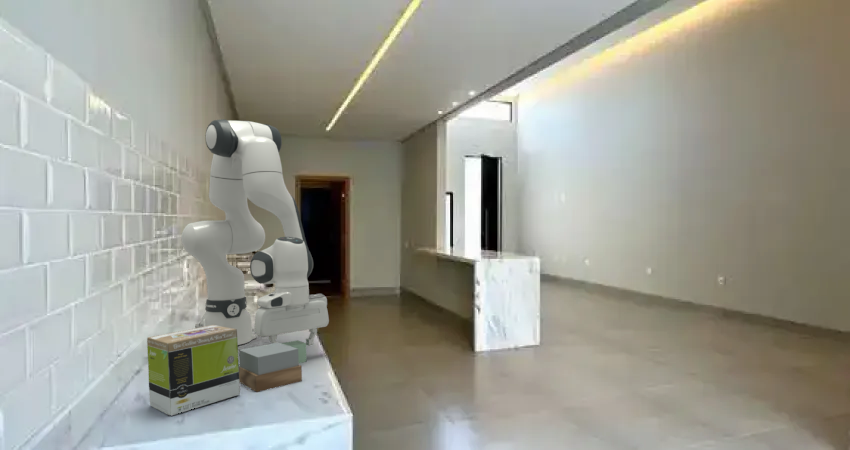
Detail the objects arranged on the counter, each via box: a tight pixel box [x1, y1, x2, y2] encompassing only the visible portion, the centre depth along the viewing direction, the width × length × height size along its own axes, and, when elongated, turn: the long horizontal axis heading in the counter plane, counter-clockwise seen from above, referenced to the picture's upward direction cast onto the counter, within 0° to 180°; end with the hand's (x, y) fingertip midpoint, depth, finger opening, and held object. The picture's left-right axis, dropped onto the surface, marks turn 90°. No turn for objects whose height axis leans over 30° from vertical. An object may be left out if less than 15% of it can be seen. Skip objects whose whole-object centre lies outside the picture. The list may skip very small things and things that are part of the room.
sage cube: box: [282, 340, 307, 364], centre depth 136 cm, size 5×5×5 cm
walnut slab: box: [239, 364, 303, 393], centre depth 119 cm, size 11×11×4 cm
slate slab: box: [238, 341, 300, 375], centre depth 119 cm, size 10×10×4 cm
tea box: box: [146, 325, 241, 417], centre depth 106 cm, size 15×10×15 cm, turn 141°
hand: (294, 348), depth 135 cm, fingers open, 8 cm apart
